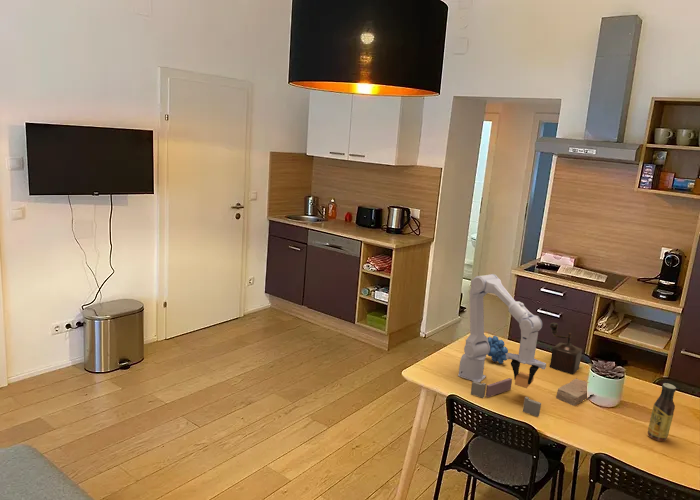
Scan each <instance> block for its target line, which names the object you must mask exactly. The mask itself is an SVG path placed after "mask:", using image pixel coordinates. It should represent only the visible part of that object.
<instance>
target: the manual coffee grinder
mask: <svg viewBox="0 0 700 500" xmlns="http://www.w3.org/2000/svg"><path fill="white" fill-rule="evenodd" d="M549 328H550V329H551V333H552V335H553V337H555V338H559V339H560V338H561V339H567V342H565V343H563V342H559V343H557V344H556V345H555V346H554V347H552V349H551V357H550V364H549V368H551V369H553V370H556V371H559V372H561V373H566V374H569V375H574V374H575V373H577V371H579V369H580V364H581V359H582V353H583V348H581V347H578V346H576V345H574V344H573V343H572V341H571V338H572V333H571V332H568V335H567V336H565V335H558V334H557V333H559V331H558V328H559V324H558V322H551V323H550V324H549Z"/></svg>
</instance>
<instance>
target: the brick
mask: <svg viewBox="0 0 700 500" xmlns="http://www.w3.org/2000/svg"><path fill="white" fill-rule="evenodd" d="M587 383H589V382H588V381H586V380H582V379H578V378H577V377H576V378H574V379H572V380H571V381H570V382H568V383H566V384H563V385H561V386H559V388H557V392H556V395H555V397H556V399H557V400H559V401H562V402H564V403H566V404H568V405H571V406H572V407H576V406H578V405H579V404H581V403H583V402H584V401H586V400H588V399H587ZM585 399H586V400H585ZM583 400H584V401H583ZM582 401H583V402H582ZM580 402H581V403H580ZM577 404H578V405H577ZM575 405H576V406H575Z"/></svg>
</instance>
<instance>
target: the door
mask: <svg viewBox="0 0 700 500" xmlns="http://www.w3.org/2000/svg"><path fill="white" fill-rule="evenodd" d="M512 383H513V378H511V377H509V378H506V379H502V380H499V381H495V382H492V383H490V384H486V389H485V397H486V398H491V397H493V396H497V395H499V394H502V393H505V392H507V391H511V390H512Z"/></svg>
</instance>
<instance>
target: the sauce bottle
mask: <svg viewBox="0 0 700 500" xmlns="http://www.w3.org/2000/svg"><path fill="white" fill-rule="evenodd" d="M676 391H677V387H676V386H675V385H674V384H671V383H668V382H667V383H666V382H664V383H662V386H661V392H660V395H659V396H658V398H657V399H656V401H655V402H654V403H653V406H652V407H653V408H652V411H651V415H650V418H649V419H650V420H649V423H648V427H647V436H648V437H649V438H650V439H653V440H654V441H658V442H659V441H660V442H665V441H667V440H668V437H669V433H670V430H671V426H672V422H673V417H674V412H675V407H676V405H675V403H674V397H675V396H674V395H675V392H676Z"/></svg>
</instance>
